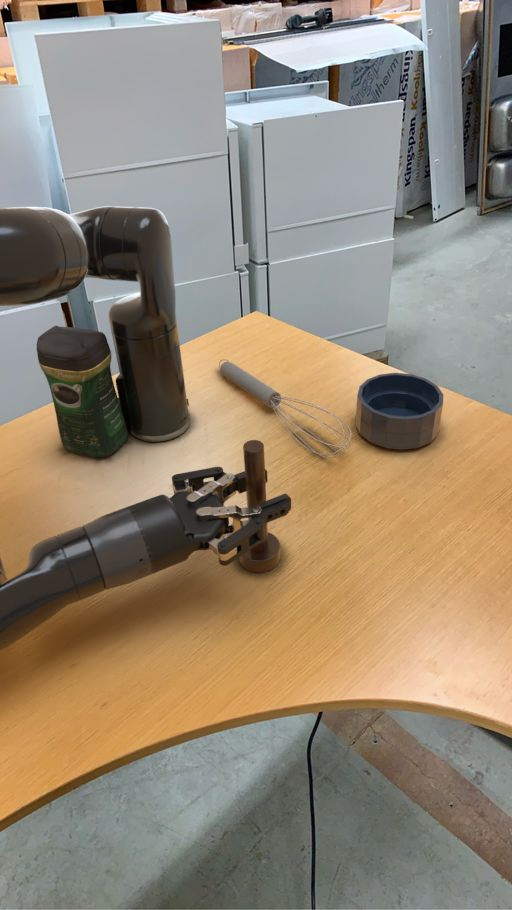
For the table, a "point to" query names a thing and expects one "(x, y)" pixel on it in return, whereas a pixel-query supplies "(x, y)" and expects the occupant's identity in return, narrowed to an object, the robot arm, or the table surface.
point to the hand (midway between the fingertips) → (276, 487)
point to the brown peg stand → (254, 463)
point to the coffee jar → (82, 390)
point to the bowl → (399, 410)
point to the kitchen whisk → (273, 399)
